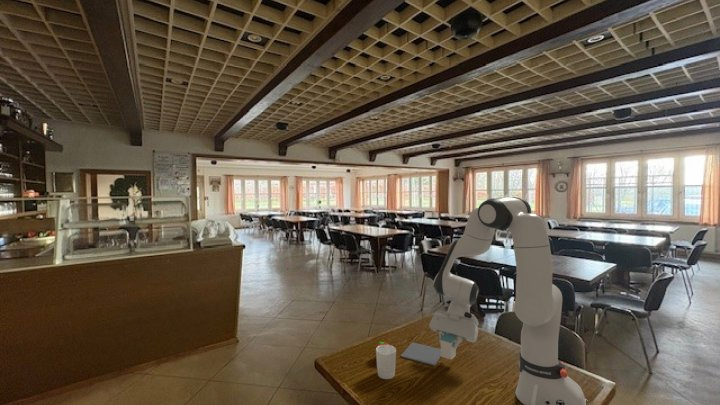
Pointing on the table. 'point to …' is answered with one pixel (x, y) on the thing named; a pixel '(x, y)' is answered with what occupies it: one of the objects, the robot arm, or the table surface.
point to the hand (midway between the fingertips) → (447, 345)
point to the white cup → (386, 361)
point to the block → (448, 346)
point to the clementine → (382, 343)
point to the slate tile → (422, 354)
